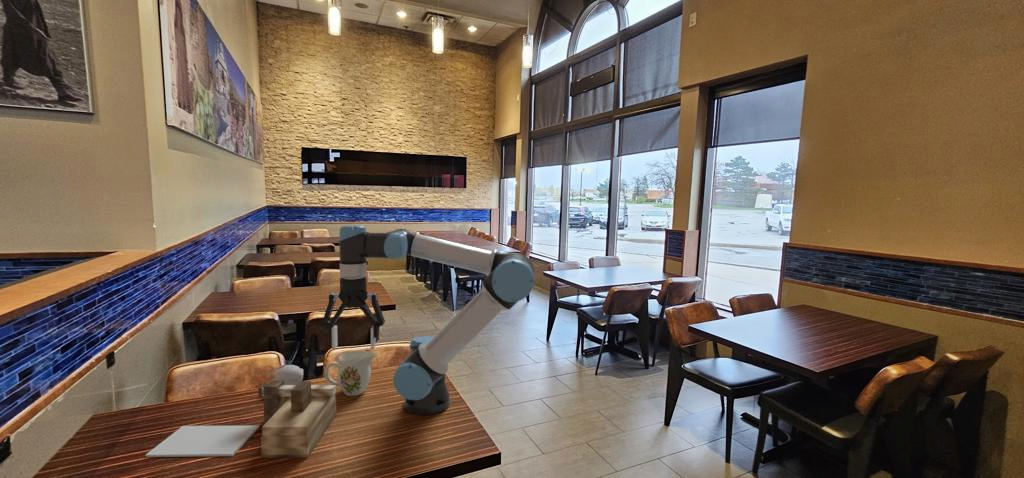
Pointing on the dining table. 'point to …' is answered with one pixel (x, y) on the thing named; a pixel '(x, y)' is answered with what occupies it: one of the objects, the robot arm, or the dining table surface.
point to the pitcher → (352, 372)
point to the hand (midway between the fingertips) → (354, 347)
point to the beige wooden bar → (315, 390)
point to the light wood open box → (290, 444)
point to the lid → (297, 413)
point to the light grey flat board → (204, 441)
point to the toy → (289, 374)
